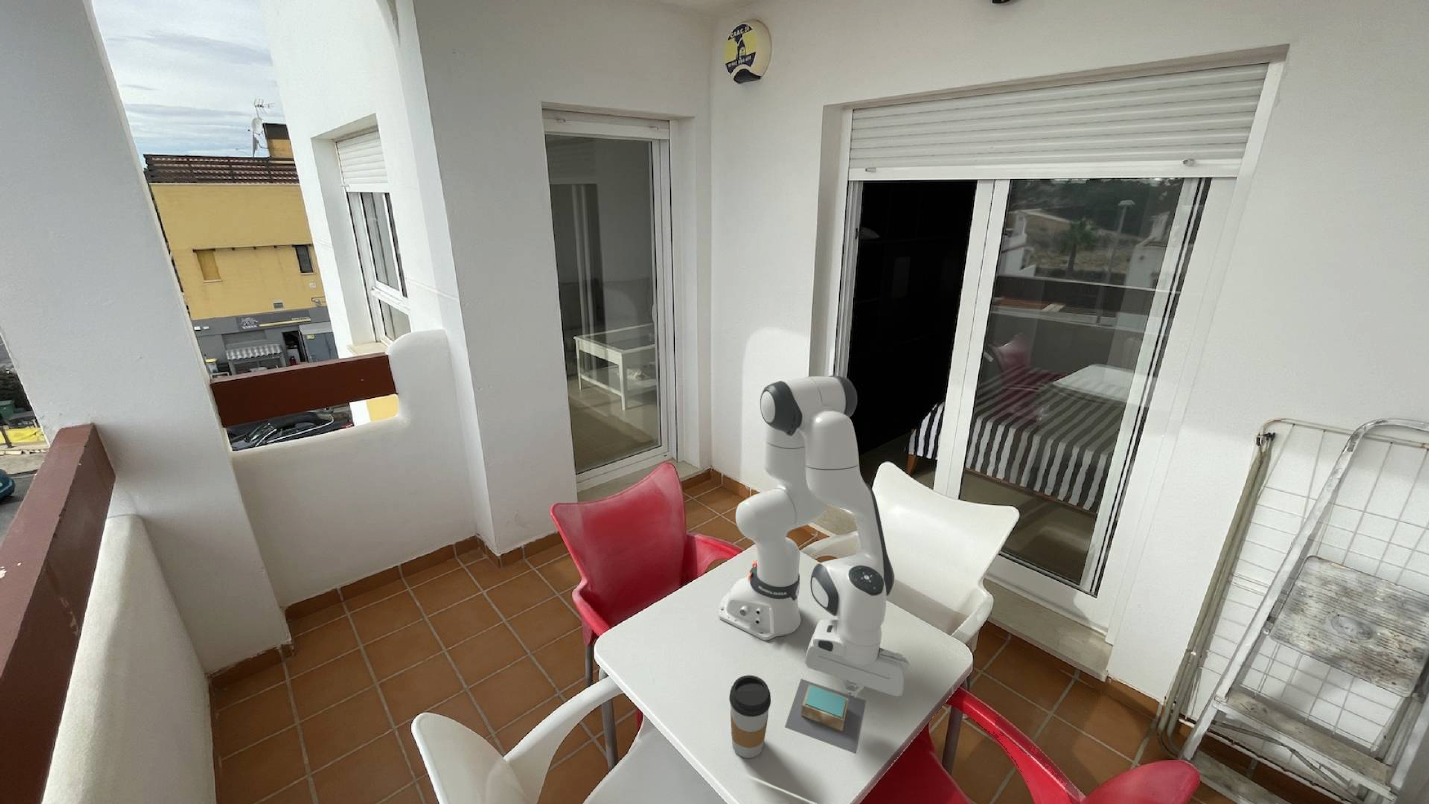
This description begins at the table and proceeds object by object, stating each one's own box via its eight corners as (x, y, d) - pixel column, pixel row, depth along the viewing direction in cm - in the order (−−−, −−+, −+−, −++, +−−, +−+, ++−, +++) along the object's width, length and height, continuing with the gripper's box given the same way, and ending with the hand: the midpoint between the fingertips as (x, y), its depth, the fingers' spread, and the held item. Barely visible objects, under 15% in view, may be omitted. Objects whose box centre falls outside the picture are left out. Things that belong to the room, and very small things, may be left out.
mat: (784, 728, 116) (784, 726, 116) (800, 680, 128) (801, 678, 128) (855, 755, 111) (855, 753, 111) (865, 702, 123) (865, 700, 123)
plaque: (842, 731, 115) (800, 715, 119) (847, 708, 121) (807, 694, 124) (844, 719, 114) (802, 703, 117) (848, 697, 120) (808, 683, 123)
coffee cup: (725, 729, 116) (727, 674, 111) (763, 726, 117) (767, 672, 112) (729, 766, 108) (732, 709, 103) (770, 763, 109) (775, 706, 104)
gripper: (911, 646, 110) (902, 698, 115) (812, 617, 117) (807, 667, 122) (909, 669, 105) (899, 722, 109) (805, 637, 112) (800, 688, 116)
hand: (850, 693), depth 116 cm, fingers closed
